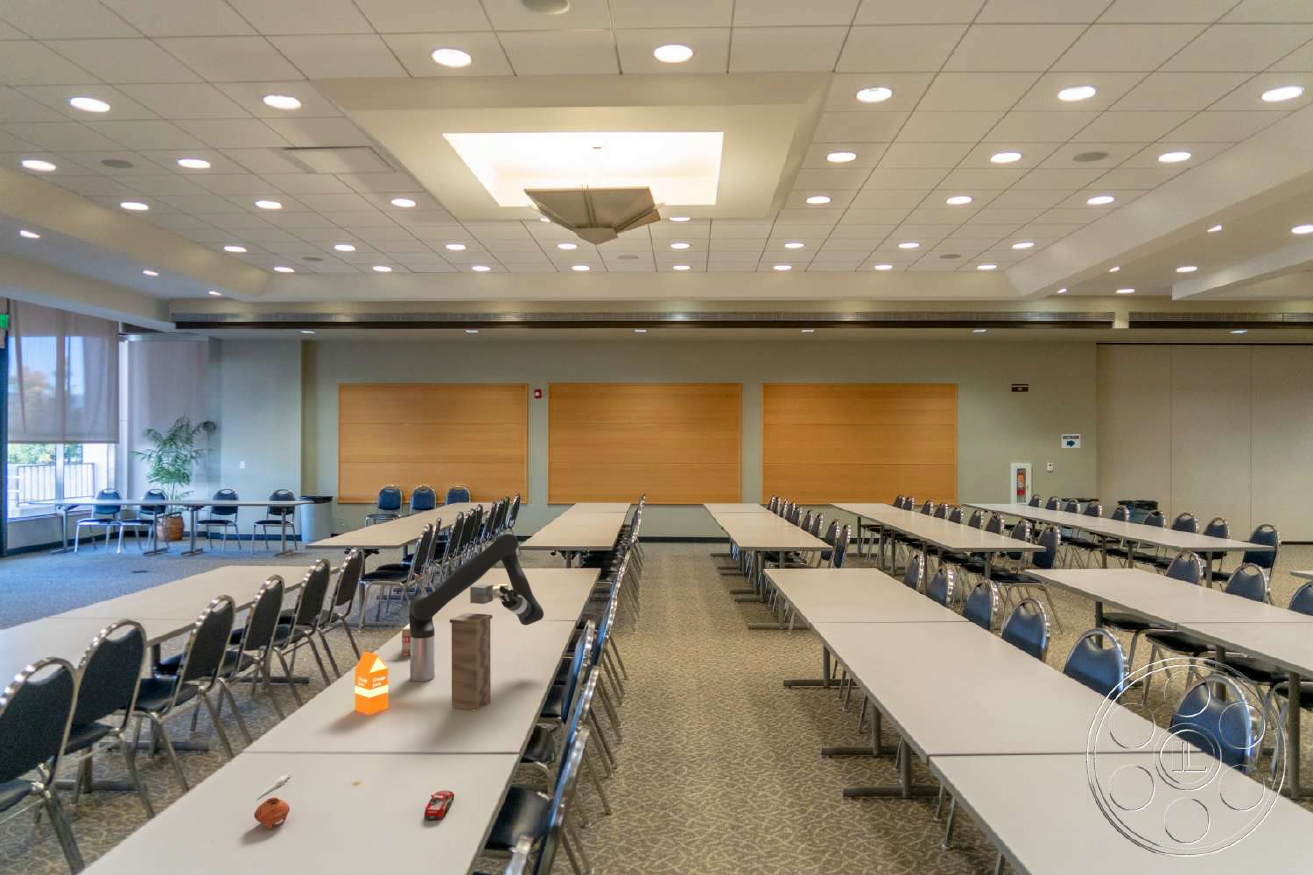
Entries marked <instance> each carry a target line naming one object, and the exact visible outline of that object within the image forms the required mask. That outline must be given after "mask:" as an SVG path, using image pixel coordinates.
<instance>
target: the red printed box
mask: <svg viewBox="0 0 1313 875" xmlns="http://www.w3.org/2000/svg"><path fill="white" fill-rule="evenodd" d="M401 633H402V634H401V643H402V644H401V648H402V649H401V656H402V655H411V631H410V622H409V623H408V624H407V625H405V626H404V627H402V629H401Z"/></svg>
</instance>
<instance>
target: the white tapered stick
mask: <svg viewBox="0 0 1313 875" xmlns="http://www.w3.org/2000/svg"><path fill="white" fill-rule="evenodd" d="M291 774H292V771H288V772H287V773H284V774H283V775H281V776H280V777H277V778H274V779H273V782H272V783H271V784H270V785H269V786H268V787H267V788H266V789H265V790H264V791H262V792H261V793H260V794H259V795H258V796H257V797H256V798H255V801H258V800H260V799H261V798H263V797H265V796H267V795H268V794H270V793H271V792H272V791H274V790H276V789H277V788H279V787H282V786H283V785H284V784H285V783H286V782H287V781H288V779H291V777H290V775H291Z"/></svg>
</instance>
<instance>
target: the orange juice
mask: <svg viewBox="0 0 1313 875" xmlns="http://www.w3.org/2000/svg"><path fill="white" fill-rule="evenodd" d="M388 681H389V667H387V665H386V664H385V663H384V661H383V660H382V658H381V657H380V655H379V654H375V653H372V652H367V651H363V653H362V655H361V657H360V659H359V661H358V663H357V664H356V666H355V669H354V710H355V711H358V712H361V713H365V714H367V715H373V714H375V712H376V713H378V711H379V712H382V711H385V710H387V708H388V709H389V682H388ZM381 710H382V711H381Z"/></svg>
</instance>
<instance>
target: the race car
mask: <svg viewBox="0 0 1313 875" xmlns="http://www.w3.org/2000/svg"><path fill="white" fill-rule="evenodd" d="M430 797H431V798H430V800H429V801H428V804H427V805H426V807H425V809H424V813H423V814H424V816H423V818H424V819H426V820H440V819H443V818H444V817H446V815H447V813H448V811H449V809H450V808H451V805H452V803H453V802H454V800H455V799H454V798H455V793H454V792H453V791H451V790H440V791H437V792H435V793H434V794H430Z"/></svg>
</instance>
